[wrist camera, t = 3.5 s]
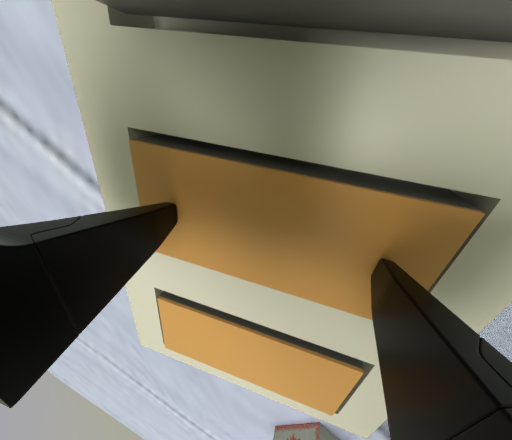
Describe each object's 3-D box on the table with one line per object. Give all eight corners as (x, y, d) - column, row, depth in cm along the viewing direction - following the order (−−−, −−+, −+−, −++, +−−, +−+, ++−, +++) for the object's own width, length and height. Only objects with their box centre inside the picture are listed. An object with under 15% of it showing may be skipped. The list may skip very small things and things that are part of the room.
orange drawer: (445, 185, 9) (485, 213, 7) (386, 285, 12) (399, 328, 10) (168, 132, 11) (128, 140, 9) (176, 226, 14) (146, 249, 12)
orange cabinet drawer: (358, 329, 14) (363, 372, 12) (331, 374, 17) (332, 416, 15) (180, 271, 17) (157, 298, 14) (184, 319, 19) (165, 347, 17)
